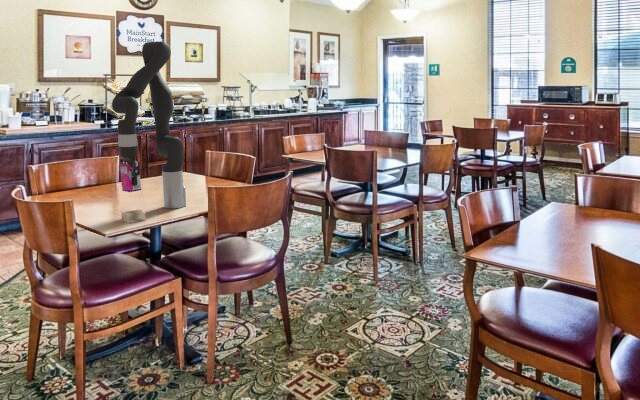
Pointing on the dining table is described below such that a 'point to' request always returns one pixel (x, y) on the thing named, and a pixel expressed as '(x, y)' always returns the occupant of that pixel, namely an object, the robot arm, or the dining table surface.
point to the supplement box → (128, 179)
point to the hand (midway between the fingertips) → (131, 184)
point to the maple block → (133, 216)
